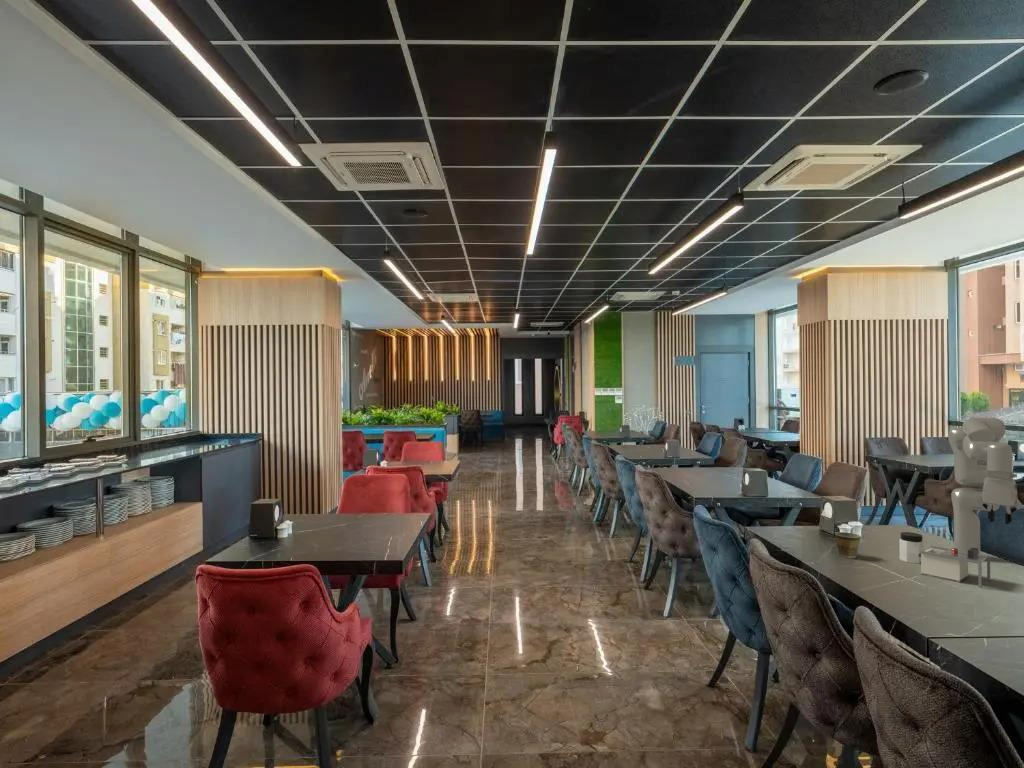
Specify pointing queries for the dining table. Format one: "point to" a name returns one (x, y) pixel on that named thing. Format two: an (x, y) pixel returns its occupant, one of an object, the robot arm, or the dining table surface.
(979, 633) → the dining table surface
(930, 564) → the white box with rails
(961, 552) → the lid
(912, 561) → the jar
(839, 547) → the ceramic cup
